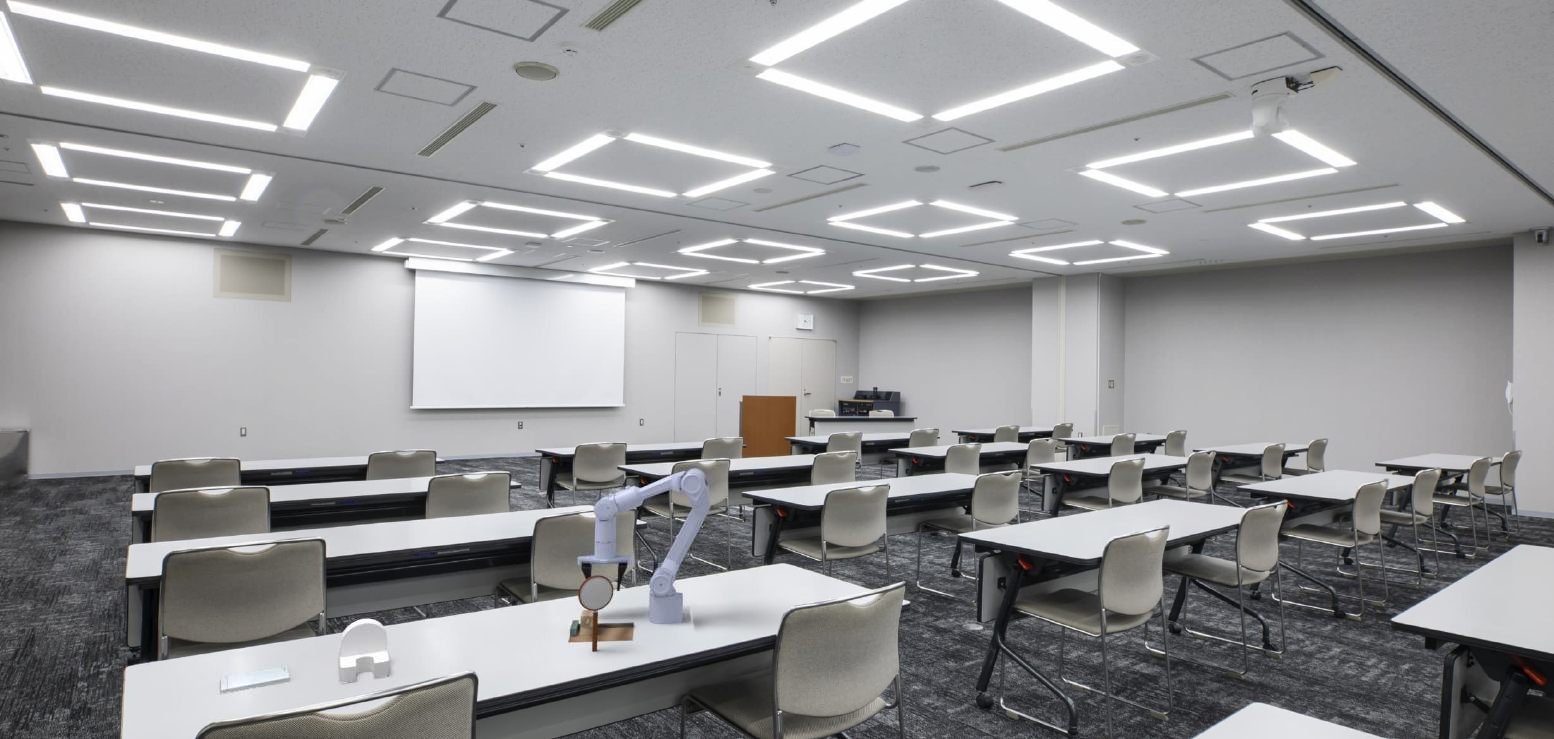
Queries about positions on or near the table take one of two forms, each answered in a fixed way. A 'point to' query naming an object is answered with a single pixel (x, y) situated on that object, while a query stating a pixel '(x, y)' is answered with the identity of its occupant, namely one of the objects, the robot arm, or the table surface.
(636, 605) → the table surface
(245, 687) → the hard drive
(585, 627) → the beige block with rod
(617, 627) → the board
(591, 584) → the magnifying glass
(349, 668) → the white slotted bracket
